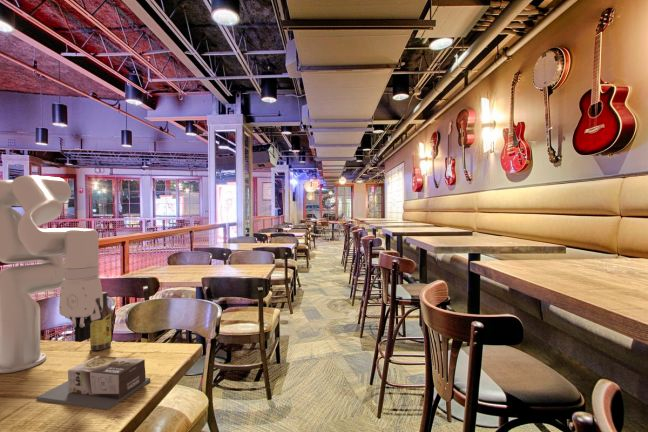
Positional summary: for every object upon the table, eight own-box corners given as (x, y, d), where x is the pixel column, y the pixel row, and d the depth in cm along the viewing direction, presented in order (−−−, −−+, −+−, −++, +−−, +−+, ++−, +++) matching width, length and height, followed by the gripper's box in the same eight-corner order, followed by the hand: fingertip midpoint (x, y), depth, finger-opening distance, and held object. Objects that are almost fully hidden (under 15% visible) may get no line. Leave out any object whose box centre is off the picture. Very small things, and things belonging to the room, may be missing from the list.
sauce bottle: (110, 349, 114) (110, 293, 114) (89, 352, 111) (88, 295, 111) (112, 343, 119) (111, 290, 120) (91, 346, 116) (91, 292, 116)
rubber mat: (36, 400, 82) (36, 396, 82) (87, 373, 96) (87, 371, 96) (108, 409, 78) (108, 406, 78) (150, 380, 91) (150, 378, 91)
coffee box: (67, 393, 84) (118, 400, 80) (67, 369, 84) (118, 374, 80) (99, 376, 93) (146, 381, 89) (98, 354, 93) (145, 358, 89)
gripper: (46, 275, 86) (46, 343, 86) (92, 276, 83) (92, 347, 82) (73, 270, 93) (73, 333, 93) (116, 271, 90) (117, 336, 90)
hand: (82, 339), depth 88 cm, fingers closed
